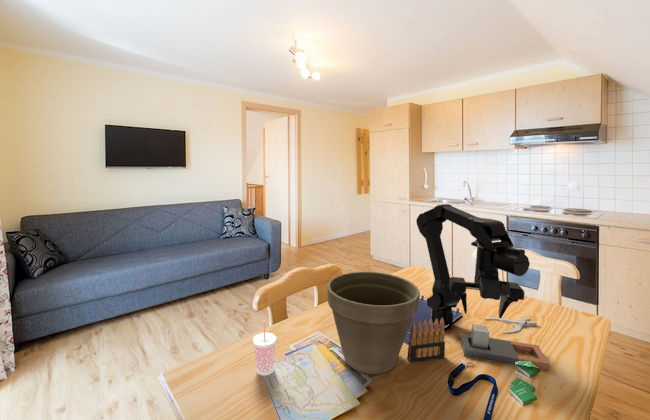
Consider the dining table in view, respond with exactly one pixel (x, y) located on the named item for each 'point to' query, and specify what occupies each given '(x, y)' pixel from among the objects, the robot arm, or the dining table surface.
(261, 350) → the beverage cup
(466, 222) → the robot arm
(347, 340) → the plant pot
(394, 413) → the dining table surface
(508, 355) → the grey copper slotted plate
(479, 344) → the grey metal block
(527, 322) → the pliers
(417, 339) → the ammunition clip
